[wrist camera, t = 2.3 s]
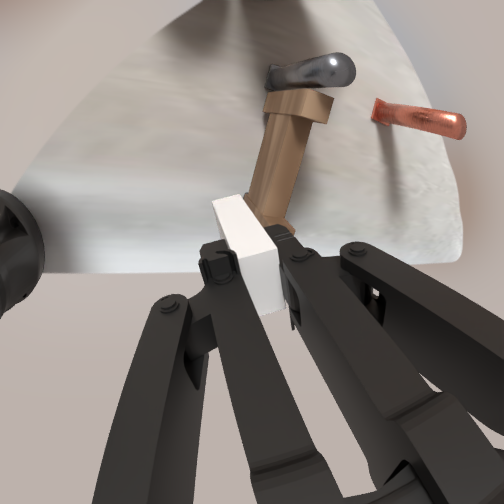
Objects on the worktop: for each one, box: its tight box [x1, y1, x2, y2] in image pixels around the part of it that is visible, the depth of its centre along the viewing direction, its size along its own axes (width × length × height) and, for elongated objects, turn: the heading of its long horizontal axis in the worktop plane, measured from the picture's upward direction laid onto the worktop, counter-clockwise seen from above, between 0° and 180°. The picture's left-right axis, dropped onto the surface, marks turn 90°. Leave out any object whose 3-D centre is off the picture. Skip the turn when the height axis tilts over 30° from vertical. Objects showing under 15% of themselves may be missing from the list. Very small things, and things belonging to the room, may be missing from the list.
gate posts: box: [264, 53, 467, 140], centre depth 25 cm, size 17×4×13 cm, turn 75°
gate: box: [243, 89, 334, 236], centre depth 27 cm, size 2×13×11 cm, turn 165°
